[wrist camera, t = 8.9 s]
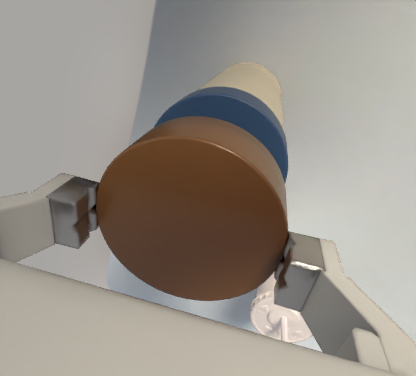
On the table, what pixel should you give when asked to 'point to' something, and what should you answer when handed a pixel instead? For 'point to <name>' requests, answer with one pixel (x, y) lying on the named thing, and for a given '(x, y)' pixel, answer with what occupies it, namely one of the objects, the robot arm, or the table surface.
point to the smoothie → (276, 316)
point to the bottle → (241, 106)
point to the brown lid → (195, 209)
